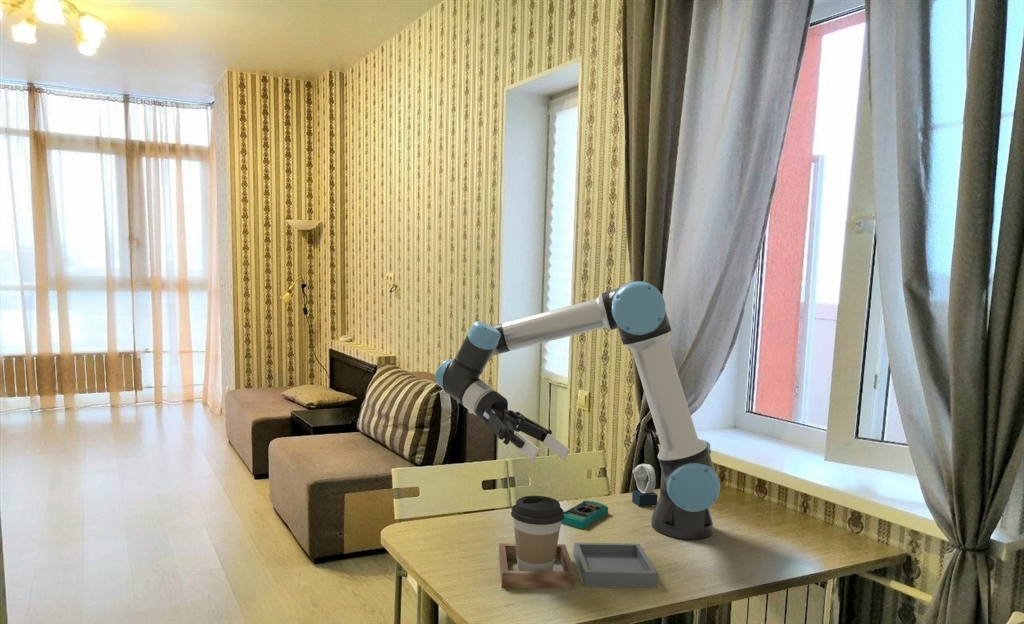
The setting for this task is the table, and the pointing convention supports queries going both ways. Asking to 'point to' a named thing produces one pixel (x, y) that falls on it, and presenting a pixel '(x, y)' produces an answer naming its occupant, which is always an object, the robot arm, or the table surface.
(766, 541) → the table surface
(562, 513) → the coffee cup
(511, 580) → the collar
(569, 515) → the digital multimeter
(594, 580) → the tray
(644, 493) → the watch
